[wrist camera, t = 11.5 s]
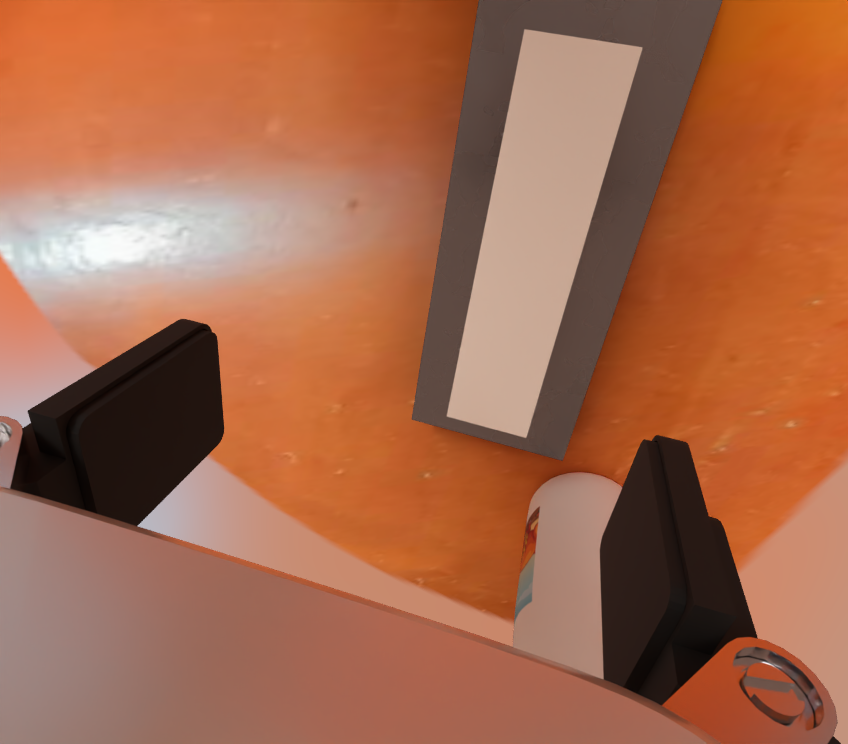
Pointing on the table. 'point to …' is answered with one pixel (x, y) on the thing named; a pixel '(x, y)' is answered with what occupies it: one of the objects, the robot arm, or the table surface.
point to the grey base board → (615, 208)
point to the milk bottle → (564, 571)
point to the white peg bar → (538, 220)
